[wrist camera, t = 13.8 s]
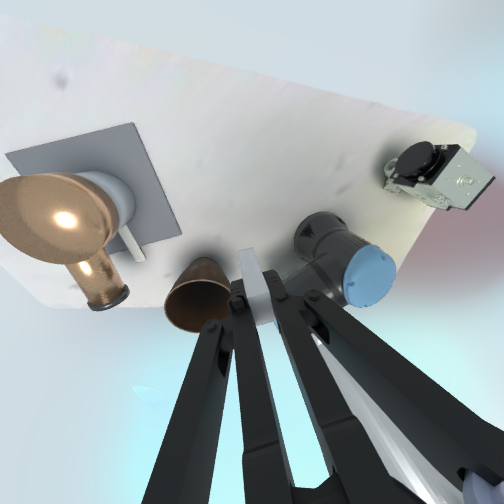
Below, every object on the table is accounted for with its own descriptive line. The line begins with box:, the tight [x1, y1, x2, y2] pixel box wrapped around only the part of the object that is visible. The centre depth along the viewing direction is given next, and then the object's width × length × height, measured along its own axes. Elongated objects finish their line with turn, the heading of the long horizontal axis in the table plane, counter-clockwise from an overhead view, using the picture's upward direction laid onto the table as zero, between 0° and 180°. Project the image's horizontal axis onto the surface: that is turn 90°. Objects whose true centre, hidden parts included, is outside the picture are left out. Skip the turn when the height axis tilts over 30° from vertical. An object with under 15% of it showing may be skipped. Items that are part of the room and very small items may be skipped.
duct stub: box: [5, 123, 182, 263], centre depth 39 cm, size 28×24×11 cm
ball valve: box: [384, 141, 495, 211], centre depth 44 cm, size 18×8×18 cm, turn 65°
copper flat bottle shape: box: [0, 172, 130, 311], centre depth 33 cm, size 23×13×7 cm, turn 6°
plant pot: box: [164, 258, 231, 333], centre depth 48 cm, size 15×15×16 cm
